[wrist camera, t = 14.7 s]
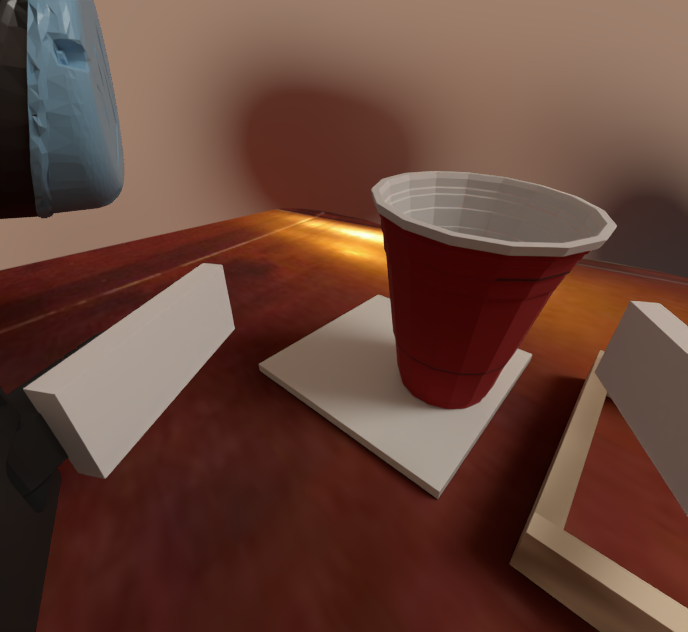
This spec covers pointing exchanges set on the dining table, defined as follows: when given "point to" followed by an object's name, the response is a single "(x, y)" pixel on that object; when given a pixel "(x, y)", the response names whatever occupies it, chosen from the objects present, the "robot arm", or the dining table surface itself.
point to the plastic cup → (474, 272)
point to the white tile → (384, 395)
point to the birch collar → (575, 556)
